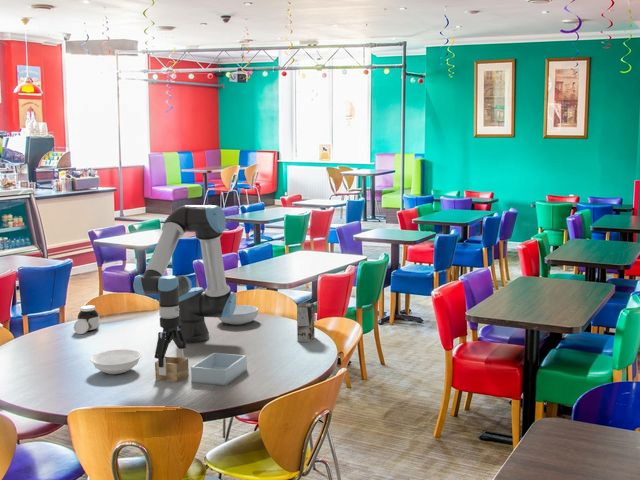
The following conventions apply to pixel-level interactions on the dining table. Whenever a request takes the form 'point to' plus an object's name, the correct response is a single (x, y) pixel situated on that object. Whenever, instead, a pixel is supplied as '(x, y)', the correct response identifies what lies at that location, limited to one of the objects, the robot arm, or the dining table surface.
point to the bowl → (116, 361)
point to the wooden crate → (173, 369)
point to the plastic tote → (219, 369)
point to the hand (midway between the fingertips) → (171, 369)
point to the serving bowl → (241, 315)
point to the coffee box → (305, 322)
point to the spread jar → (87, 320)
